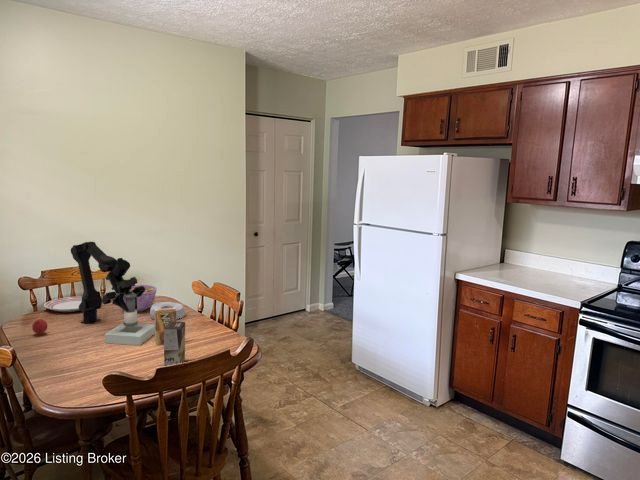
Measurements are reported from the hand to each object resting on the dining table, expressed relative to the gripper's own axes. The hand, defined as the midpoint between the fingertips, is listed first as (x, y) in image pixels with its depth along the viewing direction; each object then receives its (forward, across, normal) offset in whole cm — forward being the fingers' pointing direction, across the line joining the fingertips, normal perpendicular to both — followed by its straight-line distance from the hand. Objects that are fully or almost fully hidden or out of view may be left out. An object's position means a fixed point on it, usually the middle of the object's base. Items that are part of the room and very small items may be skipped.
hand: (132, 310), depth 199 cm
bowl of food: (-16, +26, +35) cm, 47 cm away
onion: (-15, -24, +34) cm, 44 cm away
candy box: (+20, +7, -1) cm, 21 cm away
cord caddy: (+9, 0, +10) cm, 13 cm away
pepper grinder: (+4, 0, +6) cm, 7 cm away
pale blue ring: (-1, +30, +20) cm, 37 cm away
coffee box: (+35, -5, -16) cm, 39 cm away
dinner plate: (-36, +6, +56) cm, 67 cm away
